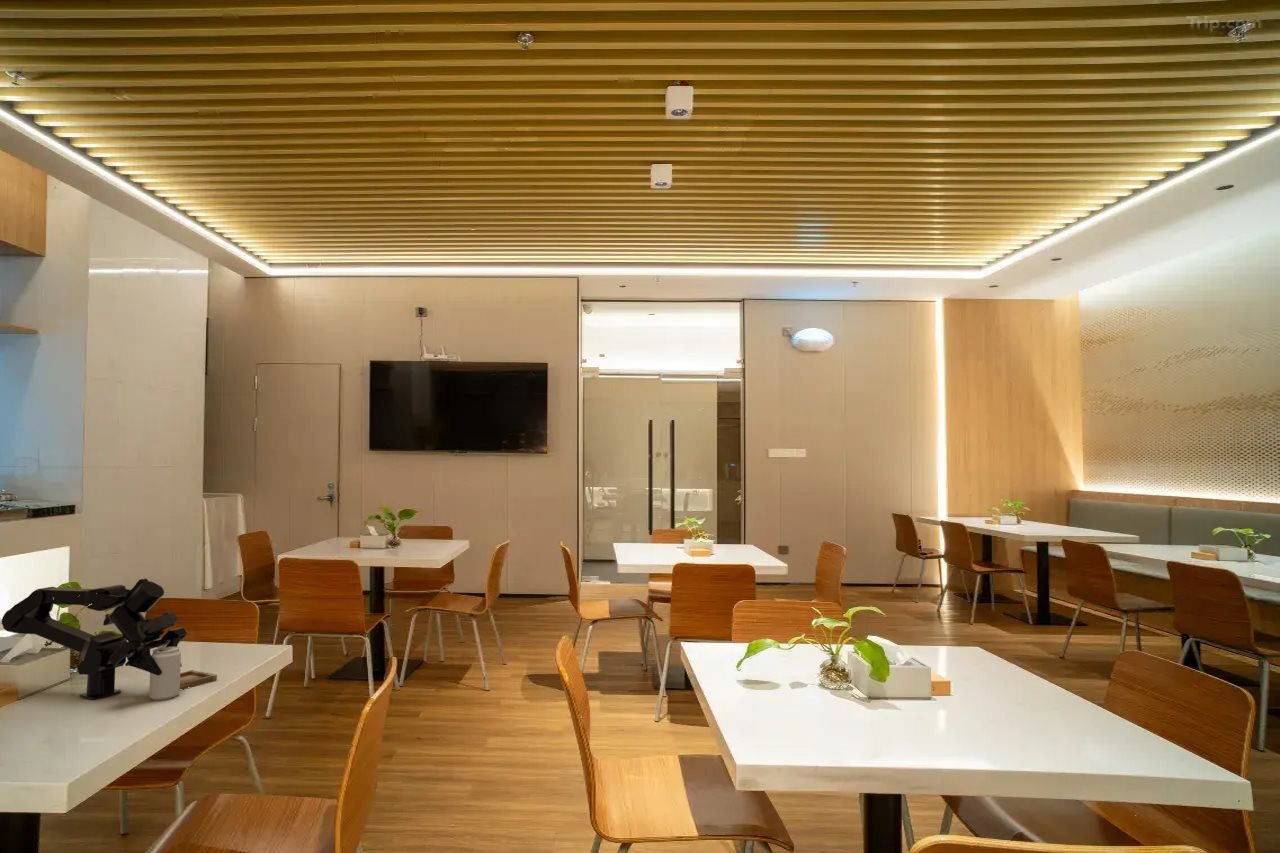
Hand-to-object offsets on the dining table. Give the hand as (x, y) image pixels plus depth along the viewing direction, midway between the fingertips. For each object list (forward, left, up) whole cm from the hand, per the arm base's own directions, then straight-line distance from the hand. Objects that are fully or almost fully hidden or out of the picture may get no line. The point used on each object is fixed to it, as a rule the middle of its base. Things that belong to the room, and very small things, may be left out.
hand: (170, 670), depth 180 cm
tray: (-9, +9, -7) cm, 15 cm away
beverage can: (-1, 0, -7) cm, 7 cm away
